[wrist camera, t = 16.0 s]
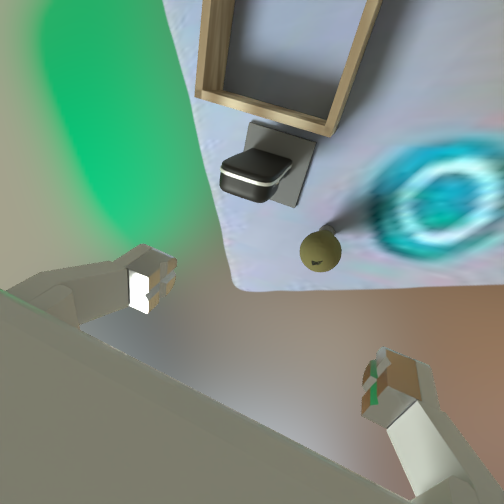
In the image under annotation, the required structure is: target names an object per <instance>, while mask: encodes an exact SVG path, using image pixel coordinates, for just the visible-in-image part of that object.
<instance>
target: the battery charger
mask: <svg viewBox="0 0 504 504" xmlns="http://www.w3.org/2000/svg"><path fill="white" fill-rule="evenodd" d="M291 167H292V160H291V159H288V158H285V157H282V156H279V155H275V154H272V153H269V152H265V151H262V150H259V149H255V148H251V149H249V150H247V151H245V152H242V153H239V154H237V155H234V156H232V157H230V158H228V159H226V160H224V161H223V162H222V165H221V168H220V171H221V175H220V188H221V189H222V190H223V191H225V192H227V193H230V194H232V195H235V196H238V197H241V198H244V199H247V200H250V201H253V202H257V203H263V202H265V201H267V200H269V199H270V198H271V197H272V196H273V195H274V194H275V193H276V191H277V189H278V186H279V183H280V181H281V180H282V179H284V178H286V177H287V175H288V174H289V172H290V168H291Z"/></svg>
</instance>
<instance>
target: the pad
mask: <svg viewBox="0 0 504 504" xmlns="http://www.w3.org/2000/svg"><path fill="white" fill-rule="evenodd" d="M315 145H316V142H314V141H310V140H307V139H304V138H300V137H297V136H294V135H291V134H287V133H284V132H281V131H278V130H274V129H271V128H268V127H264V126H261V125H258V124H255V123H251V122H250V123H249V126H248V131H247V136H246V142H245V147H244V152H245V151H247V150H249V149H251V148H255V149H259V150H262V151H265V152H269V153H272V154H275V155H279V156H282V157H285V158H288V159H291V160H292V167H291V168H290V172H289V174H288V175H287V177H286V178H284V179H282V180H281V181H280V183H279V186H278V189H277V191H276V193H275V194H274V195H273V196H272V197H271V198H270V200H273V201H275V202H278V203H281V204H284V205H287V206H290V207H292V208H295V206H296V203H297V200H298V197H299V194H300V191H301V188H302V185H303V182H304V179H305V176H306V173H307V170H308V167H309V163H310V160H311V157H312V154H313V151H314V148H315Z"/></svg>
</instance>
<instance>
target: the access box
mask: <svg viewBox="0 0 504 504" xmlns="http://www.w3.org/2000/svg"><path fill="white" fill-rule="evenodd" d="M382 1H383V0H367V2H366V5H365V8H364V11H363V14H362V17H361V20H360V23H359V26H358V29H357V32H356V35H355V38H354V41H353V44H352V47H351V50H350V53H349V56H348V59H347V62H346V65H345V68H344V71H343V74H342V77H341V80H340V83H339V86H338V89H337V92H336V95H335V98H334V101H333V104H332V107H331V110H330V113H329V116H328V118H327V120H325V119H321V118H318V117H314V116H311V115H307V114H304V113H300V112H297V111H294V110H290V109H287V108H283V107H280V106H276V105H273V104H269V103H266V102H262V101H259V100H255V99H252V98H248V97H245V96H241V95H238V94H235V93H231V92H228V91H224V90H223V86H224V79H225V72H226V64H227V57H228V49H229V42H230V35H231V27H232V20H233V13H234V5H235V0H203V4H202V15H201V27H200V39H199V50H198V62H197V73H196V85H195V96H194V97H196V98H200V99H203V100H206V101H210V102H213V103H216V104H220V105H223V106H226V107H230V108H233V109H236V110H240V111H243V112H246V113H250V114H253V115H256V116H260V117H263V118H266V119H270V120H273V121H276V122H280V123H283V124H286V125H290V126H293V127H296V128H300V129H303V130H306V131H310V132H313V133H316V134H320V135H323V136H327V137H331V136H332V135H333V134H334V133H335V132H336V129H337V127H338V124H339V121H340V118H341V116H342V113H343V110H344V107H345V104H346V102H347V99H348V96H349V93H350V90H351V88H352V85H353V82H354V79H355V76H356V74H357V71H358V68H359V65H360V63H361V60H362V57H363V54H364V51H365V49H366V46H367V43H368V40H369V37H370V35H371V32H372V29H373V26H374V24H375V21H376V18H377V15H378V12H379V10H380V7H381V4H382Z"/></svg>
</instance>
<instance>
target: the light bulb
mask: <svg viewBox="0 0 504 504" xmlns="http://www.w3.org/2000/svg"><path fill="white" fill-rule="evenodd" d="M334 234H335V232H334V229H333V228H332V227H331V226H328V225H325V226H322V227H321V228H320V229H319V231H317V232H314V233H311V234H310V235H308V236H307V237H306V238H305V239H304V240H303V242H302V244H301V246H300V257H301V260H302V262H303V264H304V265H305V266H306V267H307V268H309V269H310V270H312V271H315V272H326V271H329V270H331V269H333V268H334V267H335V266H336V265H337V264H338V262H339V260H340V258H341V251H342V250H341V245H340V243H339V241H338V240H337V238H336V237H335V236H334Z"/></svg>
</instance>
